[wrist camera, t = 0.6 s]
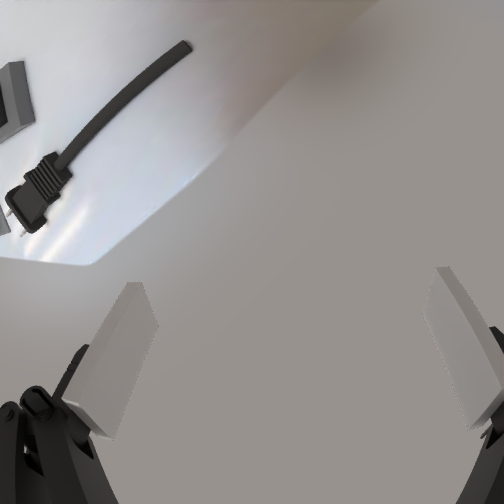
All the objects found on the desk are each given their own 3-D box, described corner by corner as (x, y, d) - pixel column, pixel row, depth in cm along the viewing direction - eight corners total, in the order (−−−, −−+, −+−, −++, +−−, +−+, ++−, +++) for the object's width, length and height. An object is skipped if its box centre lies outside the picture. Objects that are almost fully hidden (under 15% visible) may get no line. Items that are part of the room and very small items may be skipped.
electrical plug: (10, 201, 42) (-7, 213, 38) (173, 25, 30) (161, 17, 25) (35, 236, 46) (20, 249, 41) (210, 72, 33) (203, 69, 29)
